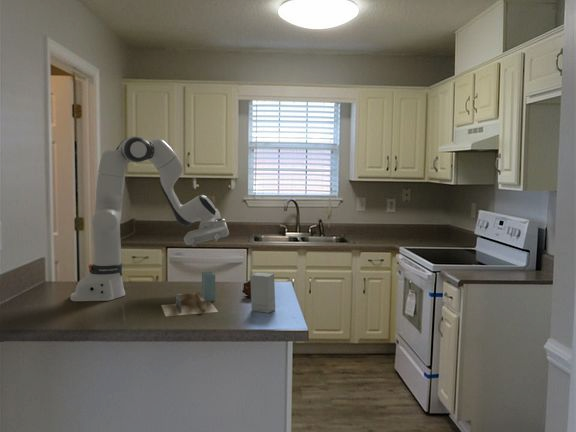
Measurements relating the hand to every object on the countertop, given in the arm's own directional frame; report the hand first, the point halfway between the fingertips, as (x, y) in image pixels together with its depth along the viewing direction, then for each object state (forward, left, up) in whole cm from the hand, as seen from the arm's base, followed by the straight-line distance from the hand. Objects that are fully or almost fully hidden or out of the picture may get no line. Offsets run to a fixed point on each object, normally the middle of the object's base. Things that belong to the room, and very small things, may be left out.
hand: (204, 242), depth 217 cm
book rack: (-10, -20, -24) cm, 33 cm away
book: (0, -8, -24) cm, 25 cm away
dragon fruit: (+20, -6, -24) cm, 32 cm away
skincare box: (+18, -28, -24) cm, 41 cm away
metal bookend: (-14, -20, -23) cm, 34 cm away
